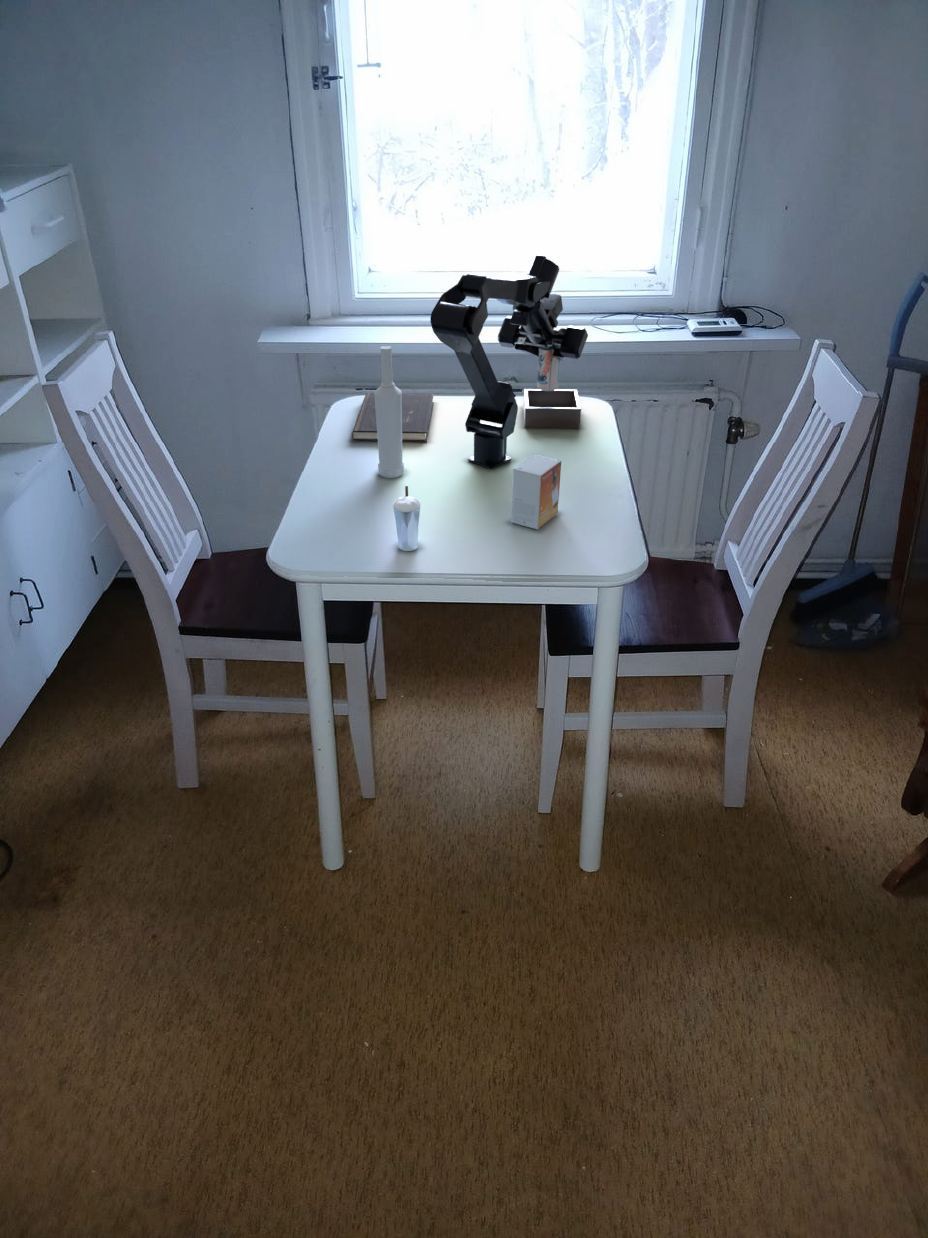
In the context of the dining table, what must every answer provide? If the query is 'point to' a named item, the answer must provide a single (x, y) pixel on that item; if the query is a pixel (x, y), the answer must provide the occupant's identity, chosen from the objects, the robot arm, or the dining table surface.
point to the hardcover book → (413, 418)
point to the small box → (535, 491)
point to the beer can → (547, 369)
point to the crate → (551, 409)
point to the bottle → (389, 420)
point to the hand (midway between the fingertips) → (551, 357)
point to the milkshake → (407, 521)
